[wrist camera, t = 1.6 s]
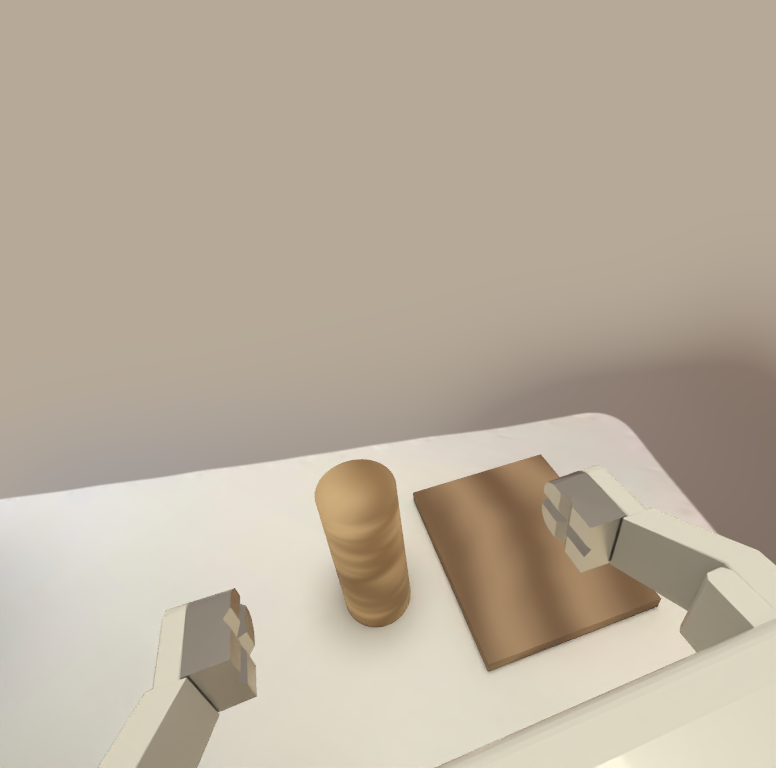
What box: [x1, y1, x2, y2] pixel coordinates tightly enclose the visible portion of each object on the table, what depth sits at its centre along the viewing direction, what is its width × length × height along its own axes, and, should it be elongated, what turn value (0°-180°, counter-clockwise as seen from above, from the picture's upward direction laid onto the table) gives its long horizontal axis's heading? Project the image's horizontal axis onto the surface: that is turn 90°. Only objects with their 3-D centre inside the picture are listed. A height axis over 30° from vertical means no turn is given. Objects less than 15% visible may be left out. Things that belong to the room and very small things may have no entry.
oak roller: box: [315, 459, 410, 627], centre depth 30 cm, size 5×5×12 cm
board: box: [413, 455, 661, 671], centre depth 35 cm, size 13×15×1 cm
